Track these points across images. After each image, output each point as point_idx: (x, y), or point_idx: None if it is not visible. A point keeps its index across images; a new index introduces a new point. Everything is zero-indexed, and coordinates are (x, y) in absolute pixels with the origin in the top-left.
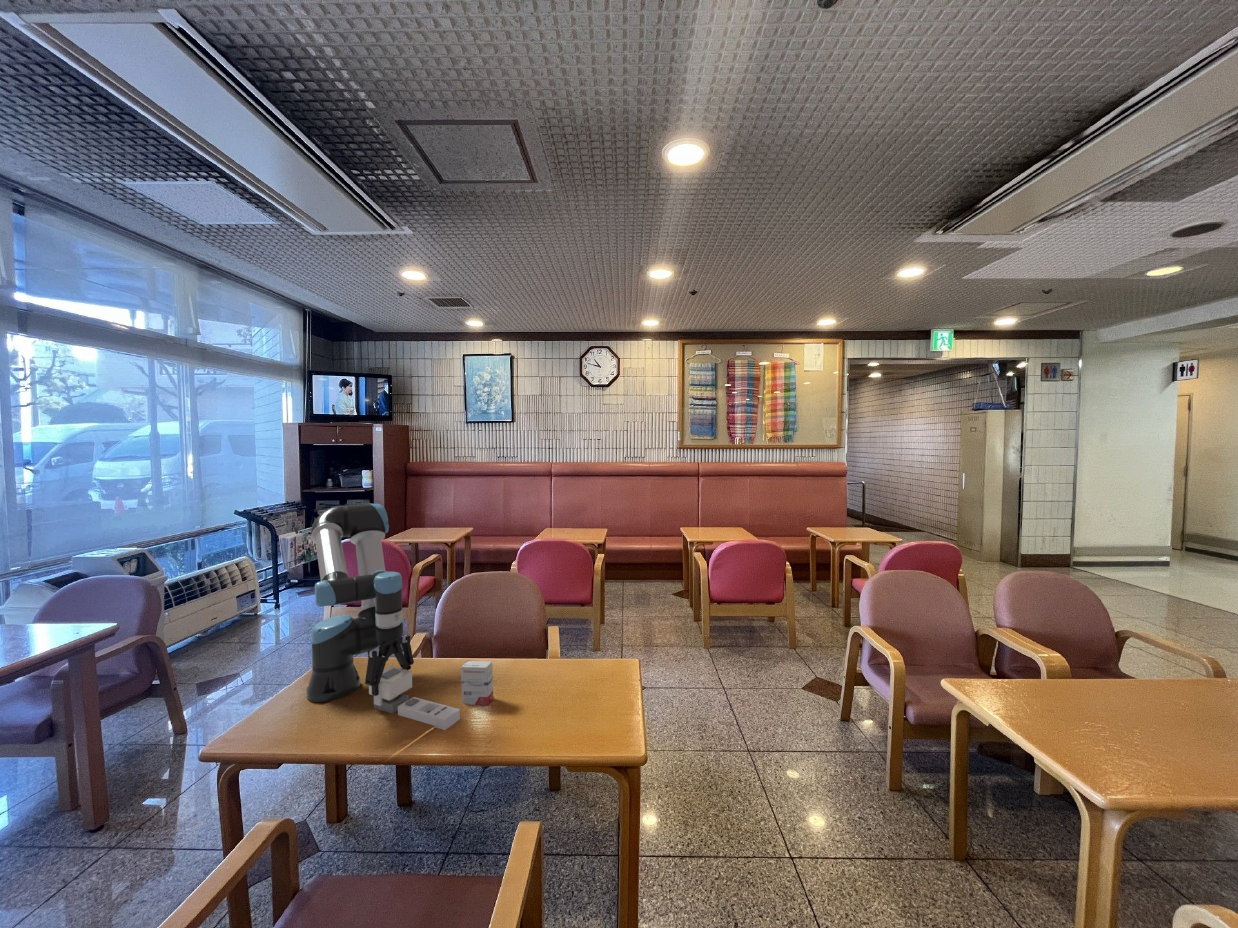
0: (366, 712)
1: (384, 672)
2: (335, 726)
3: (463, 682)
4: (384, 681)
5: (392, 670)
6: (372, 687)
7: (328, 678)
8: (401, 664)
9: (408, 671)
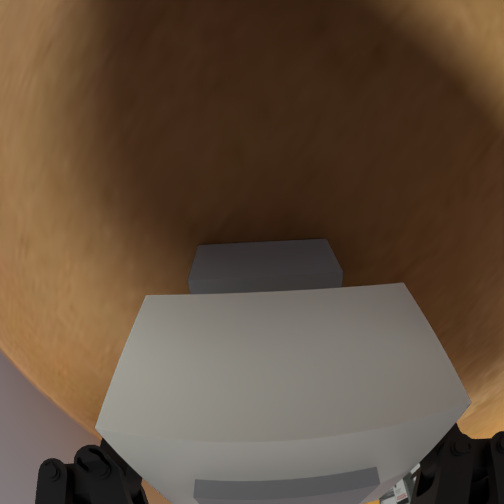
0: (153, 236)
1: (295, 463)
2: (14, 221)
3: (379, 500)
4: (179, 500)
5: (330, 498)
6: (106, 443)
7: None
8: (423, 496)
9: (372, 496)
